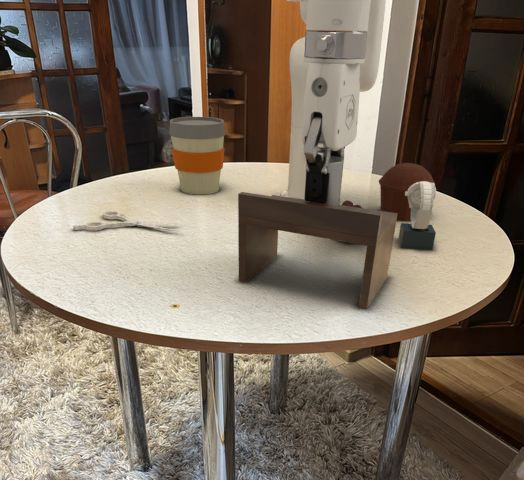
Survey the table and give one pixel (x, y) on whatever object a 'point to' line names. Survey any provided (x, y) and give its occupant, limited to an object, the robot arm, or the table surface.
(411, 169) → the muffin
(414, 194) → the head sculpture
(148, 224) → the scissors
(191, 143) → the reusable coffee cup
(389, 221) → the shelf
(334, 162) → the grey upright cylinder
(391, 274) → the table surface
